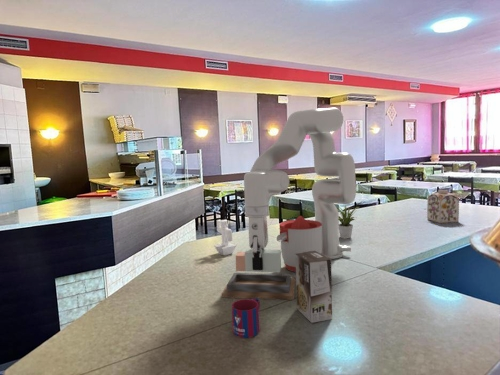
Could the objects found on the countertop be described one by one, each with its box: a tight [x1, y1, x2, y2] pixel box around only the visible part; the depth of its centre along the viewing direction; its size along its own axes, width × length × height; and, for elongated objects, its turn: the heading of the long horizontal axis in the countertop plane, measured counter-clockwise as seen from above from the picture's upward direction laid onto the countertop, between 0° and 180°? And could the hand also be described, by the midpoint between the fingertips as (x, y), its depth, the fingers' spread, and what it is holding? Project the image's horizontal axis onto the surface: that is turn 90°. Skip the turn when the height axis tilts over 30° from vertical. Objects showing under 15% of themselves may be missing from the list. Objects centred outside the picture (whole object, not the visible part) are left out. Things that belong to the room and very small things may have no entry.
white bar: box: [235, 248, 282, 273], centre depth 108 cm, size 14×4×6 cm, turn 80°
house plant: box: [336, 205, 360, 239], centre depth 167 cm, size 14×14×16 cm
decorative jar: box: [426, 189, 460, 224], centre depth 193 cm, size 12×12×18 cm
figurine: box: [213, 219, 237, 256], centre depth 148 cm, size 7×9×15 cm
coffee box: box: [295, 251, 333, 324], centre depth 90 cm, size 9×6×16 cm
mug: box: [231, 298, 261, 339], centre depth 85 cm, size 7×10×7 cm
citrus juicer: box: [276, 215, 322, 273], centre depth 125 cm, size 16×17×20 cm
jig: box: [221, 272, 296, 301], centre depth 109 cm, size 22×14×3 cm, turn 80°
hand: (258, 266), depth 108 cm, fingers closed on white bar, 4 cm apart
